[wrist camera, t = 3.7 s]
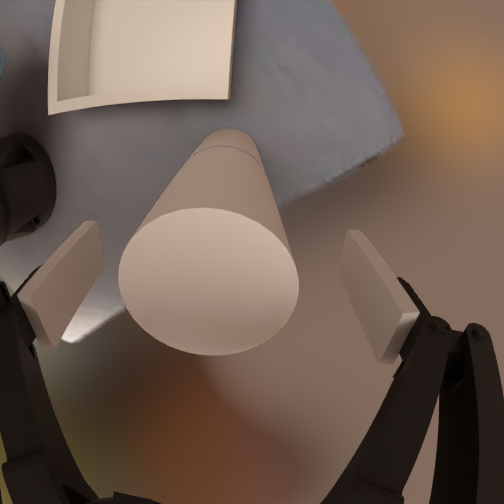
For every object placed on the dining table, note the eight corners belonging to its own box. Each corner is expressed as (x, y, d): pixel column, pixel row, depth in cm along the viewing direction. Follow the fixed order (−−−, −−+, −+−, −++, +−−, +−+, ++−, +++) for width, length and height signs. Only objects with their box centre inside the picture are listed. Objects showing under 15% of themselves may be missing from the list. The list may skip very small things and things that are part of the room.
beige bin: (83, 108, 28) (48, 115, 21) (94, -19, 19) (64, -37, 13) (230, 99, 30) (227, 99, 23) (240, -36, 21) (241, -67, 14)
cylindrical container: (264, 135, 32) (324, 228, 10) (251, 192, 35) (272, 363, 14) (202, 123, 31) (118, 193, 9) (192, 182, 34) (123, 340, 12)
